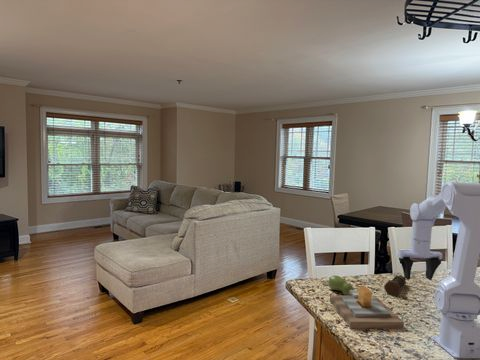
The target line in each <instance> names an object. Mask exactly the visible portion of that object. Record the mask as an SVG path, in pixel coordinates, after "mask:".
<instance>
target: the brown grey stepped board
mask: <svg viewBox="0 0 480 360" xmlns="http://www.w3.org/2000/svg"><path fill="white" fill-rule="evenodd" d="M350 294H351V295H350V296H349V295H344V294H343V295H342V294H341V295H336V294H335V295H333V294H331V295H329V302H330V303H331V305H332V306H333V307H334V309H335V310H336V311H337V313H338V314H339V315H340V317H341V318H342V319H343V321H344V322H345V323H346V325H347V326H348V327H349V329H394V330H395V329H404V327H405V321H403V320H402V319H401V318H400V317H399V316H398V315H397V313H395V312H394V311H392V310H391V309H390V308H389V307H388V306H387V305H386V304H385V303H384V302H382V301H381V300H380V299H379V297H377V296H376V295H372V297H371V308H362V307H361V306H360V305H359V304H358V289H355V290H350Z"/></svg>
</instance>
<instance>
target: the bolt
mask: <svg viewBox="0 0 480 360" xmlns="http://www.w3.org/2000/svg"><path fill="white" fill-rule="evenodd" d="M406 280H407V279H406V278H404V275H400V274H399V275H397V274H396V275H395V276H394V277H393V278H392V280H390V279H389V280H388V281H387V282H386V283H385V284H384V286H383V287H384V290H385V292H386V295H387V294H388V295H389V296H393V297H397V296H398V295H399V294H400V292H401V291H402V289H403V288H404V286H405V285H406V284H407V281H406Z"/></svg>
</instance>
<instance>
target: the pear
mask: <svg viewBox="0 0 480 360" xmlns="http://www.w3.org/2000/svg"><path fill="white" fill-rule="evenodd" d="M327 284H328V287H329V288H330V289H331V290H333V291H340V292H341V293H342V294H343V295H349V296H352V295H351V294H350V290H356V289H355V287H353V285H352V284H350V283H349V282H347V280H345V279H344V278H343V277H341V276H338V275H331V276H330V277H329V278H328V280H327Z"/></svg>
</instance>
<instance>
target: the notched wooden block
mask: <svg viewBox="0 0 480 360" xmlns="http://www.w3.org/2000/svg"><path fill="white" fill-rule="evenodd" d="M357 291H358V304H359V305H360V306H361V307H362V308H371V297H372V296H373V292H372V291H371V290H370V289H369V288H368V287H367V286H361V285H360V286H357Z"/></svg>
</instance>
